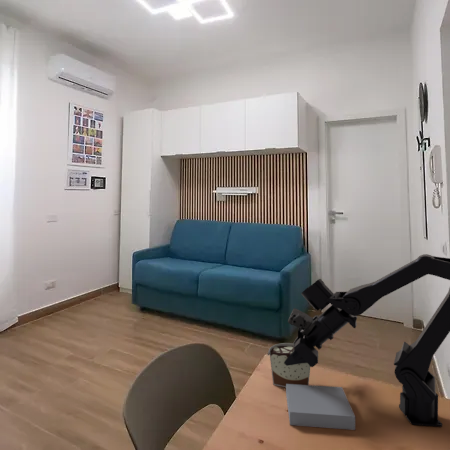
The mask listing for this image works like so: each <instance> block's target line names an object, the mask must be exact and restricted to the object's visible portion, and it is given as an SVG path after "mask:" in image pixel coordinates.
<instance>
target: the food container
mask: <svg viewBox="0 0 450 450" xmlns="http://www.w3.org/2000/svg"><path fill="white" fill-rule="evenodd" d="M293 350H294V344H293V343H292V342H291V343H290V342H283V343H276V344H274V345H271V347H270V348H269V349H268V351H267V356H269V358H270V359H269V361H270V368H271V369H270V371H271V377H272V385H273V386H276V387H277V386H278V387H283V388H286V384H298V385H310V374H311V367H310V365H309V364H308V363H301V364H294V365H288V366H286V365H285V363H284V362H285V360H286V359H287V358H288V356H289V355H290V354H291V353H292V352H293Z"/></svg>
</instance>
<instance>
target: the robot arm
mask: <svg viewBox="0 0 450 450" xmlns="http://www.w3.org/2000/svg"><path fill="white" fill-rule="evenodd" d="M427 275H430V276H434V277H439V278H441V279H444V280H448V281H450V257H441V256H435V255H432V254H421V255H419V256H417V258H415V259H413V260H412V261H410V262H409V263H407V264H405V265H403V266H401V267H399V268H397V269H396V270H393V271H392V272H390V273H388V274H387V275H385V276H382V277H381V278H379V279H377V280H375V281H372V282H369V283H365V284H361V285H359V286H356V287H353V288H350V289H349V290H348V291H335V292H333V291H332V290H331V289H330V288H329V287H328V285H326V283H325V282H324V281H323V280H322V279H321V278H318V279H317V280H315V282H313V283H312V284H311V285H310V286H308V287H306V288H305V289H304V290H303V291H302V292H301V296H303V298H304V299H305V301H307V302H308V303H309V305H310V306H311V307H312V308H313V309H314V310H316V311H319V310H320V311H323V310H324V309H325V308H326V307H328V306H329V305H330V304H331V305H330V306H329V307H328V308H327V309H326V310H324V311H323V312H322V313H321V314H319V315H318V314H317V315H314V316H313V317H312V316H310V315H309V314H307V313H306V312H304V311H302V310H300V309H298V308H295V307H294V308H293V309H292V311H291V313H290V315H289V318H288V320H287V323H288V324H289V325H291V326H294V327H295V328H298V329H297V336H296V338H295V340H294V341H293V343H292V344H294V350H293V352H292V353H291V354H290V355H289V356H288V358H287V359H286V360H285V362H284V363H285V365H286V366H288V365H294V364H301V363H308V364H309V365H310V368H314V367H315V366H316V365H317V364H319V350H321V349H322V348H323V344H325V343H326V342H327V341H328V340H329V341H332V340H333V339H334V335H335V334H336V333H338V332H339V331H340V330H341V329H343V328H344V327H345V326H347V324H349V325H350V326H351V327H352V328H353V329H356V328H357V320H358V316H360V315H362V314H363V313H365V312H366V311H368V309H370V308H371V307H372V306H374V305H375V304H376V303H377V302H378V301H379V300H380V299H382V298H384V297H385V296H388V295H389V294H391V293H393V292H395V291H397V290H399V289H401V288H403V287H405V286H408V285H409V284H411V283H414V282H416V281H417V280H419V279H421V278H423V277H425V276H427ZM448 335H450V287H449V288H448V292H447V294H446V295H445V296H444V298H443V299H442V301H441V302H440V304H439V305H438V307H437V308H436V310H435V312H434V313H433V315H432V316H431V318H430V319H429V321H428V322H427V324H426V325H425V326H424V329H423V330H422V332H421V333H420V334H419V336H418V337H417V338H416V340H415V341H414V342H413V343H411V344H408V343H407V342H406V341H403V343H402V346H401V348H400V350H398V351H397V352H396V353H395V356H394V362H393V365H394V366H395V367H394V376H395V378H396V379H397V381H398V383H400V384H401V385H402V389H401V390H402V391H401V392H400V393H399V404H398V407H399V409H400V411H401V412H402V413H403V416H405V418H406V419H407V420H408V422H409V423H410V424H411V425H412V426H413V425H414V426H427V427H439V428H440V427H443V423H442V421H440V420H439V394H438V393H437V392H436V377H435V376H434V375H433V373H431V372H430V371H429V370H430V366H431V363H432V360H433V357H434V356H435V354H436V353H437V351H438V349H439V348H440V347H441V345H442V344H443V342H444V341H445V339H446V338H447V336H448ZM315 347H316V348H315Z"/></svg>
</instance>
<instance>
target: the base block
mask: <svg viewBox="0 0 450 450" xmlns="http://www.w3.org/2000/svg"><path fill="white" fill-rule="evenodd" d="M285 394H286V395H285V396H286V403H287V404H286V405H287V411H288V419H289V425H290V426H298V427H314V428H325V429H326V428H327V429H336V430H338V429H339V430H350V431H351V430H352V431H355V430H356V414H355V413H354V410H353V408H352V406H351V404H350V401H349V400H348V397H347V395H346V393H345V390H344V388H343V387H342V386H333V385H332V386H327V385H314V384H313V385H311V384H309V385H298V384H286V387H285Z"/></svg>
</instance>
